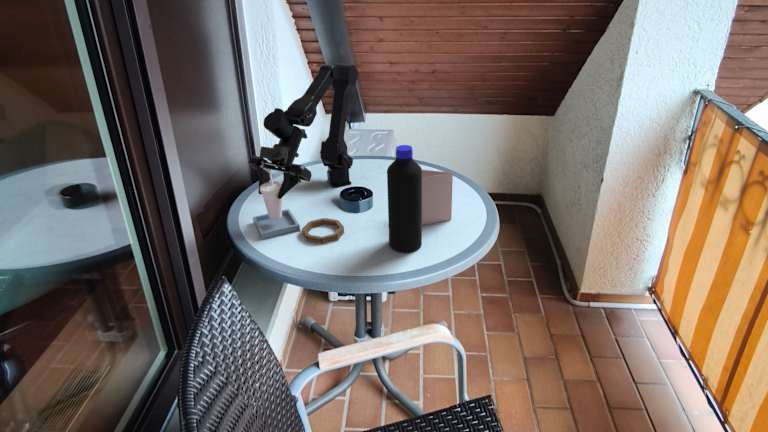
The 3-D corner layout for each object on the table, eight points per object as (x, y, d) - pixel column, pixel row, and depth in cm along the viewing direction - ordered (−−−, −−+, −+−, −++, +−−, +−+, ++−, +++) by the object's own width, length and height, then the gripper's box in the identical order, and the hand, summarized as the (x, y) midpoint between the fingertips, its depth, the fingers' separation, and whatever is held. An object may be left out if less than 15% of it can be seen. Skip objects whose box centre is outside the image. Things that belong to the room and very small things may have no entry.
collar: (335, 220, 160) (334, 215, 159) (348, 237, 151) (348, 232, 150) (299, 229, 156) (298, 223, 155) (310, 247, 147) (310, 241, 146)
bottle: (425, 238, 149) (426, 143, 136) (416, 255, 142) (416, 156, 129) (395, 234, 152) (392, 140, 139) (384, 250, 145) (381, 152, 131)
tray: (289, 214, 164) (288, 209, 163) (300, 230, 155) (299, 224, 154) (253, 223, 160) (252, 217, 159) (262, 240, 151) (261, 233, 150)
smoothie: (291, 214, 157) (285, 169, 150) (276, 223, 152) (269, 178, 146) (274, 209, 160) (267, 165, 153) (259, 218, 155) (252, 174, 149)
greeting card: (451, 218, 159) (453, 171, 152) (446, 230, 153) (448, 182, 146) (414, 213, 162) (414, 167, 155) (407, 225, 156) (407, 178, 149)
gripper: (246, 128, 152) (226, 180, 149) (300, 138, 144) (280, 192, 141) (268, 145, 162) (249, 193, 159) (320, 155, 153) (301, 206, 150)
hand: (269, 196), depth 152 cm, fingers closed on smoothie, 6 cm apart
